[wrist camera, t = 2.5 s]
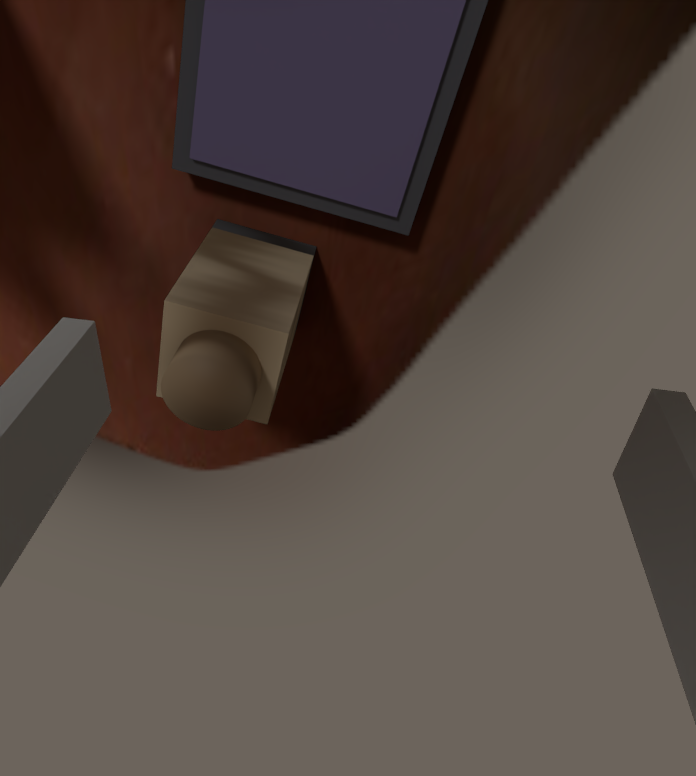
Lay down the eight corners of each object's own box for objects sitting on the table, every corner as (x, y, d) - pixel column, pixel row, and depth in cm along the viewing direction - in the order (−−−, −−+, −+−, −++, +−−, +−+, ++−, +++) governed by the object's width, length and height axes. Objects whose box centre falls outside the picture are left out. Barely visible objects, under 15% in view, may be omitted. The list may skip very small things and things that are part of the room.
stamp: (206, 304, 34) (140, 425, 26) (217, 219, 31) (146, 327, 23) (296, 328, 35) (257, 455, 27) (316, 246, 32) (279, 362, 24)
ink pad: (181, 158, 30) (169, 170, 28) (208, -141, 23) (195, -143, 22) (409, 223, 30) (408, 238, 29) (499, -47, 24) (504, -44, 22)
